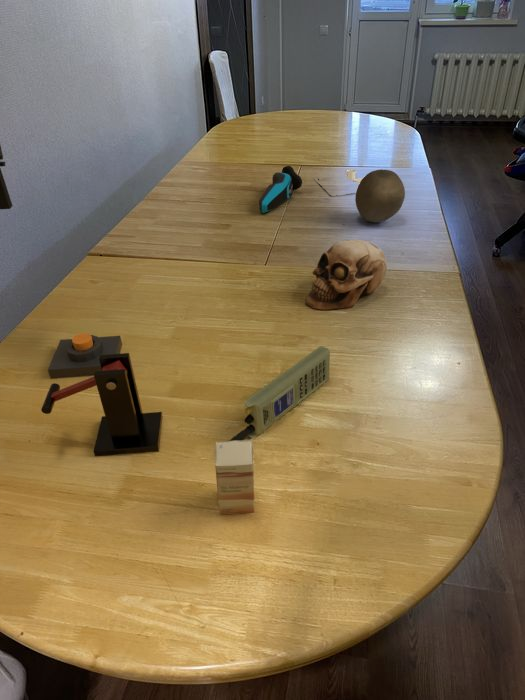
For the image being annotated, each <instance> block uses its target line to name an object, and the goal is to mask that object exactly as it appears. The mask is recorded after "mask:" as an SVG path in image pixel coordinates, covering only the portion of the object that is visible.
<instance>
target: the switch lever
mask: <svg viewBox="0 0 525 700" xmlns="http://www.w3.org/2000/svg"><path fill="white" fill-rule="evenodd" d="M119 369H125V367H124V366H123V365H122V363H121V362H120V360H118V361H116V362H113V363H111V364H108V365H106V366H103V369H102V371H106V370H119ZM126 373H127V370H126ZM93 387H97V385H96V382H95V378H94V376H91V377H89V378H86V379H83V380H82V381H81V380H80V381H79V382H75V383H74V384H71V385H69V386H66V387H64V388H61V386H60V385H59V384H58V383H55V382H54V383H51V384H50V386H49V389H48V391H47V394H46V396H45V399H44V400H43V403H42V406H41V409H40V410H41V412H42V414H45V415H48V414H51V413H52V411H53V408H54V405H55V403H56V402H57V401H61V400H63V399H66V398H68V397H71V396H73V395H75V394H78V393H80V392H83V391H86V390H88V389H91V388H93Z"/></svg>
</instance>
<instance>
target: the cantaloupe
mask: <svg viewBox="0 0 525 700" xmlns="http://www.w3.org/2000/svg"><path fill="white" fill-rule="evenodd" d="M405 198H406V190H405V185H404V182H403V181H402V179H401V178H400V175H398V174H397V173H396V172H395V171H392V170H390V169H382V168H381V169H376V170H372V171H370V172H369V173H367V174H366V176H365V177H364V178H363V179H362V180H361V182H360V184H359V185H358V188H357V191H356V194H355V199H354V201H355V207H356V209H357V211H358V214H359V215H360V216H361V218H362V219H363V220H365V221H367V222H370V223H382V222H384V221H387V220H389V219H390V218H392V217H393V216H395V215H396V214H397V213H398V212H399V211H400V210H401V208H402V206H403V204H404V201H405Z"/></svg>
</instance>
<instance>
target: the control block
mask: <svg viewBox="0 0 525 700" xmlns="http://www.w3.org/2000/svg"><path fill="white" fill-rule="evenodd" d="M90 335H91V337H92V341H93V346H92V347H91V348H89V349H87V350H82V351H77V350H75V349H74V346H73V342H72V339H73V338H67V339H60V340H59V342H58V345H57V347H56V349H55V352H54V354H53V356H52V359H51V361H50V363H49V366H48V368H47V372H48V374H49V377H50V380H52V379H53V380H55V379H65V378H79V377H90V376H91V377H94V373H95V371H102V369H101V365H100V362H99V356H100V355H108V354H121V351H122V347H123V341H122V336H121V335H110V336H109V335H108V336H107V335H106V336H98V335H93V334H90Z"/></svg>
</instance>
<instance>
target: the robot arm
mask: <svg viewBox="0 0 525 700" xmlns="http://www.w3.org/2000/svg"><path fill="white" fill-rule="evenodd" d="M3 160H4V154H3V150H2V145H1V144H0V210H11V208H12V207H13V202H12V199H11V197H10V194H9V191H8V187H7V184H6V180H5V177H4V175H3V172H2V169H1V167H6V161H3Z"/></svg>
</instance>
